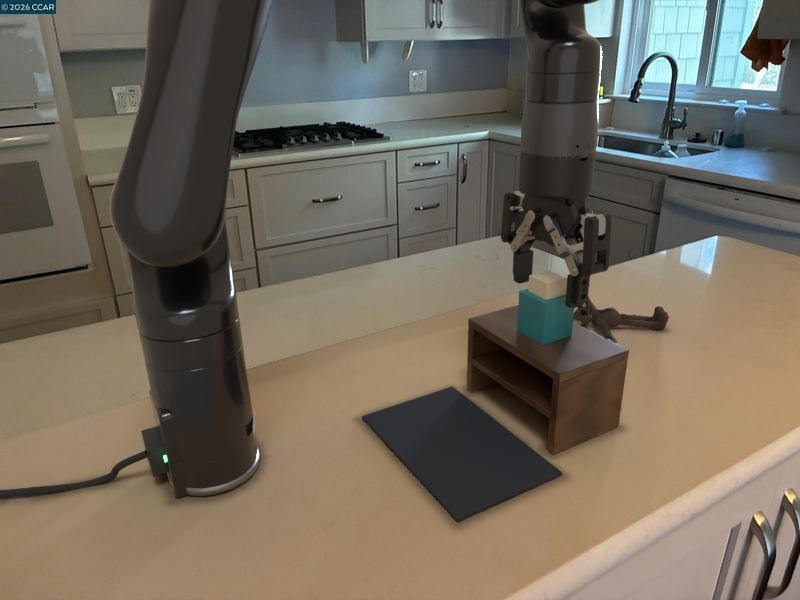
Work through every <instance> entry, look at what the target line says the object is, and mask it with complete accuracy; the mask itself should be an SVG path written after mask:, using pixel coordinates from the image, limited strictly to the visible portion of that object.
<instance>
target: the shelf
mask: <svg viewBox="0 0 800 600" xmlns="http://www.w3.org/2000/svg"><path fill="white" fill-rule="evenodd" d="M467 319H468V320H467V324H468V325H467V329H468V330H467V360H466V361H467V362H466V363H467V364H466V390H467V391H469V392H470V393H473V392H476V391H479V390H482V389H486V388H488V387H490V386H491V387H492V386H495V385H498V384H500V385H501V386H503V387H504V389H505V388H506V389H507V390H508V391H510V392H511V393H512V394H514V395H515V396H516V397H518V398H520V400H523V401H524V402H525V403H526V404H527V405H530V406H531V407H532V408H533V409H536V410H537V411H538V412H540V413H541V414H542V415H544V416H545V417H547V418H548V419H549V421H548V431H547V433H548V434H547V445H546V451H547V452H548V453H550V455H553V456H554V455H556V454H558V453H561V452H563V451H566V450H567V449H570V448H572V447H575V446H577V445H580V444H582V443H584V442H587V441H589V440H591V439H593V438H596V437H599V436H601V435H603V434H605V433H608V432H610V431H612V430H615V429H617V428H619V426H620V419H621V410H622V404H623V398H624V397H623V396H624V389H625V382H626V375H627V368H628V360H629V353H630V349H628V348H626V347H624V346H622V345H621V344H618V343H617V344H616V343H614V342H612V341H610V340H608V339H606V338H605V336H602V335H600V334H598V333H596V332H593V331H592V330H589V329H587V328H586V327H585V328H584V327H582V326H580V325H578V324H576V323H574V322H573V328H572V336H569V337H566V338H563V339H560V340H557V341H554V342H551V343H547V344H544V345H541V344H540V343H538V342H536V341H534V340H533V339H531V338H529V337H527V336H526V335H524V334H522V333H520V332H519V331H517V321H518V304H516V305H513V306H509V307H505V308H502V309H498V310H495V311H491V312H488V313H483V314H481V315H477V316H473V317H469V318H467Z"/></svg>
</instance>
